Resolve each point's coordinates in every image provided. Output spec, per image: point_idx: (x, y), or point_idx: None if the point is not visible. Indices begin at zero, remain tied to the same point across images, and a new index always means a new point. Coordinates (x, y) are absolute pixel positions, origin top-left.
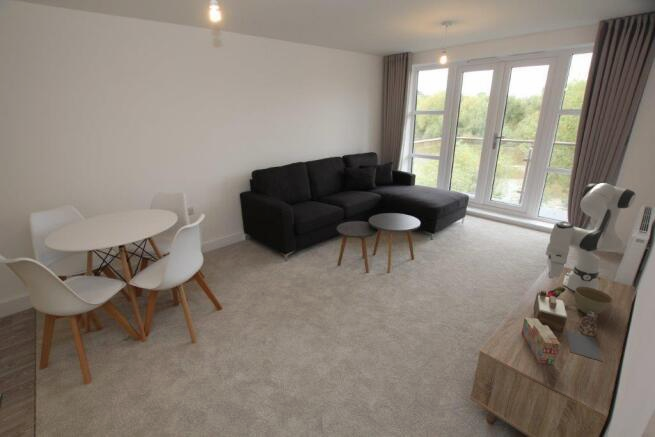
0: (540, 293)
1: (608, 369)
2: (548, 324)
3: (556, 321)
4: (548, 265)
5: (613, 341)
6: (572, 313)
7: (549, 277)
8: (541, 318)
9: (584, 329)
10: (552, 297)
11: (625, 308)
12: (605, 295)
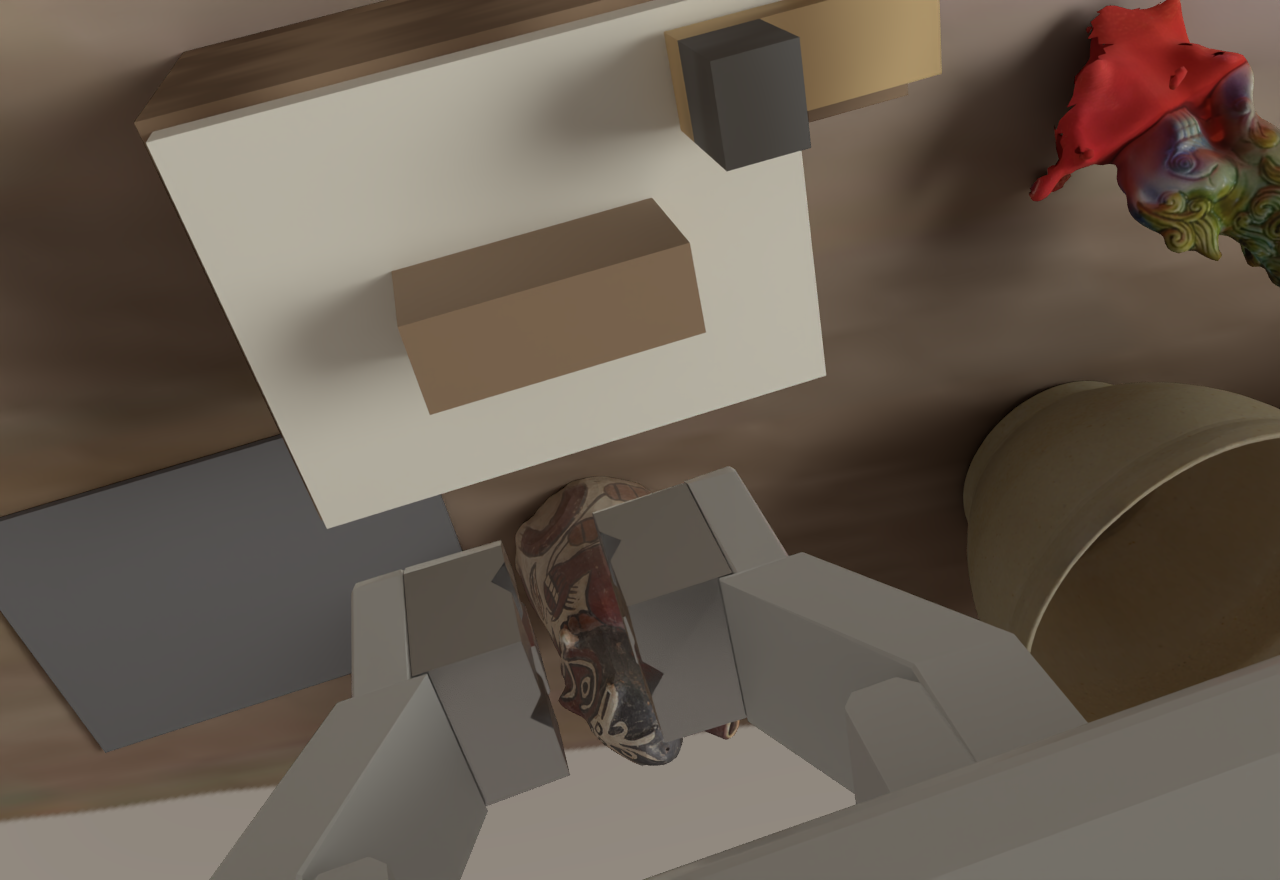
0: (736, 33)
1: (18, 797)
2: None
3: None
4: (962, 873)
5: (577, 720)
6: (888, 368)
7: (359, 606)
8: None
9: (530, 563)
10: (640, 298)
11: None
12: None
